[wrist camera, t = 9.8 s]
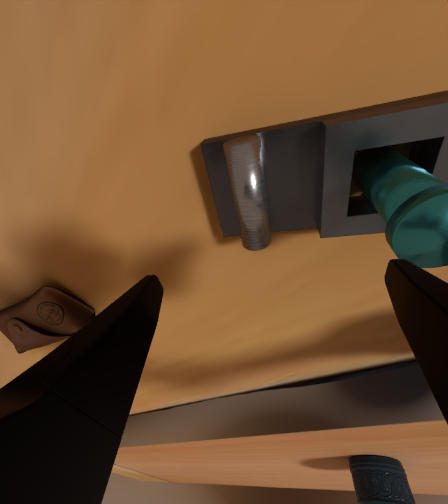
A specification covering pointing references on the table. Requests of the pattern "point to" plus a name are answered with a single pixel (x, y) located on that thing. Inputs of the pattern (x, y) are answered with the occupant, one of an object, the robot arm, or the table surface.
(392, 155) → the pin
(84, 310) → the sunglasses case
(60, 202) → the table surface
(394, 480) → the canister
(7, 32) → the table surface
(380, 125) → the plate
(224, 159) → the lower chain end
